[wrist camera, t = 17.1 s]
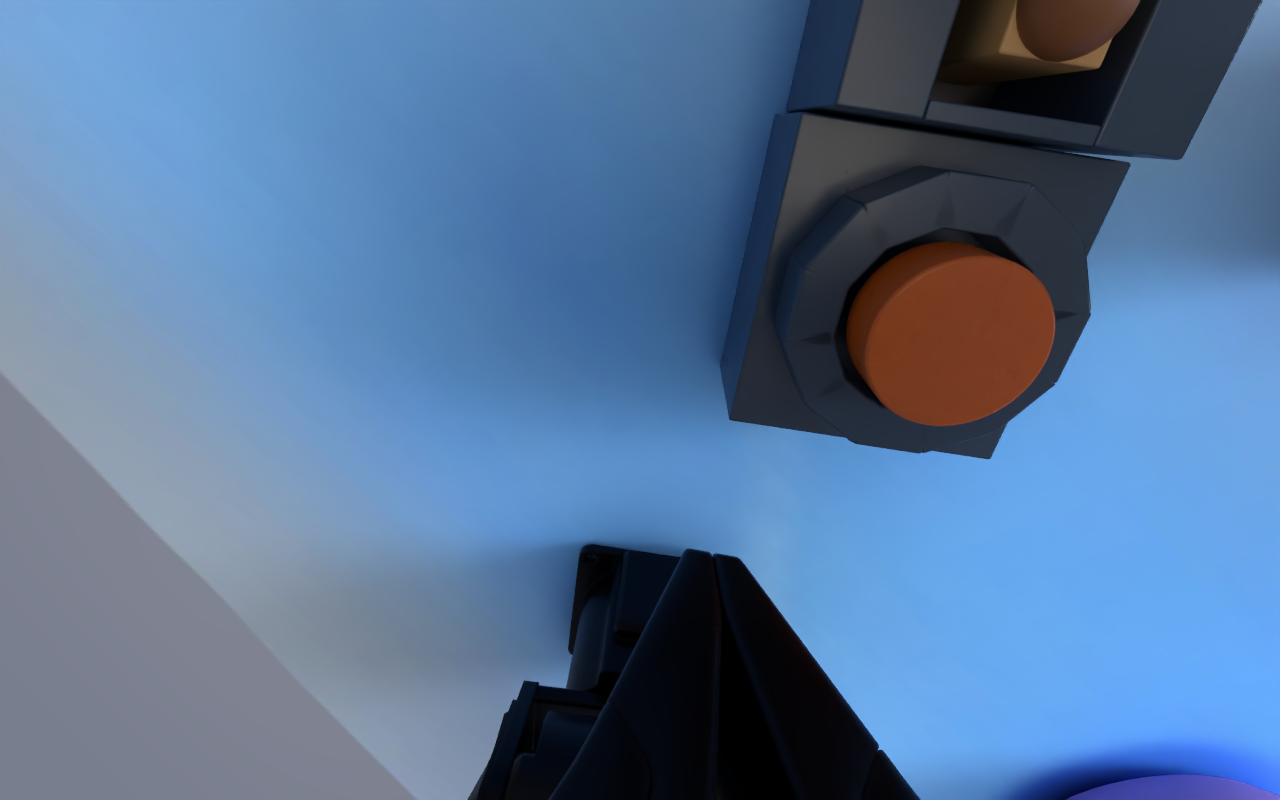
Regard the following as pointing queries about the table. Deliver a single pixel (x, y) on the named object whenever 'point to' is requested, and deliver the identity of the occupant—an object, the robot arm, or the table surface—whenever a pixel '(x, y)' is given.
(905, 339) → the button
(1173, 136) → the toaster
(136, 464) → the table surface
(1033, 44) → the tan slab
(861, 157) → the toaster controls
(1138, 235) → the table surface
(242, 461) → the table surface
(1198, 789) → the teapot
